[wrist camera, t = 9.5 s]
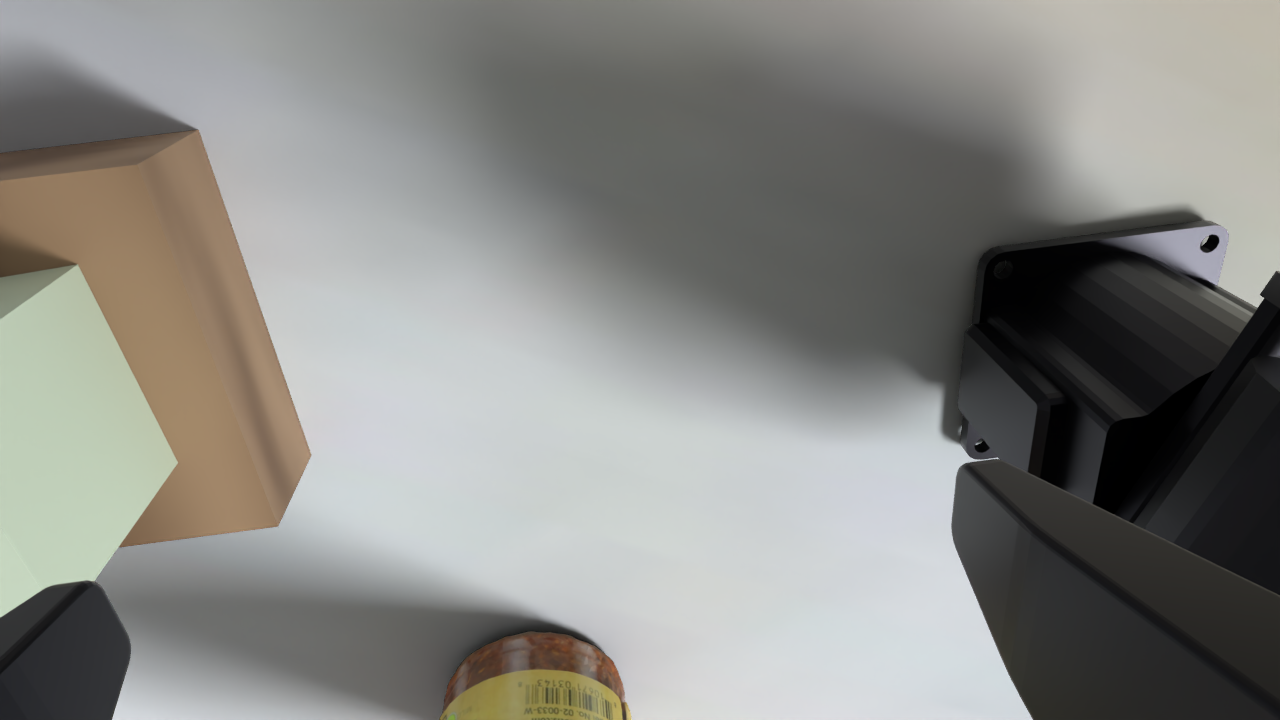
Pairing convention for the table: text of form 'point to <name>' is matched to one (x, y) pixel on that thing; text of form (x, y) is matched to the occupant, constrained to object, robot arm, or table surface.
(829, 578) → the table surface
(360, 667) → the table surface
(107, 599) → the robot arm
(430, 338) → the table surface
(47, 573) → the sage cube
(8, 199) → the walnut block
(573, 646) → the sauce bottle
